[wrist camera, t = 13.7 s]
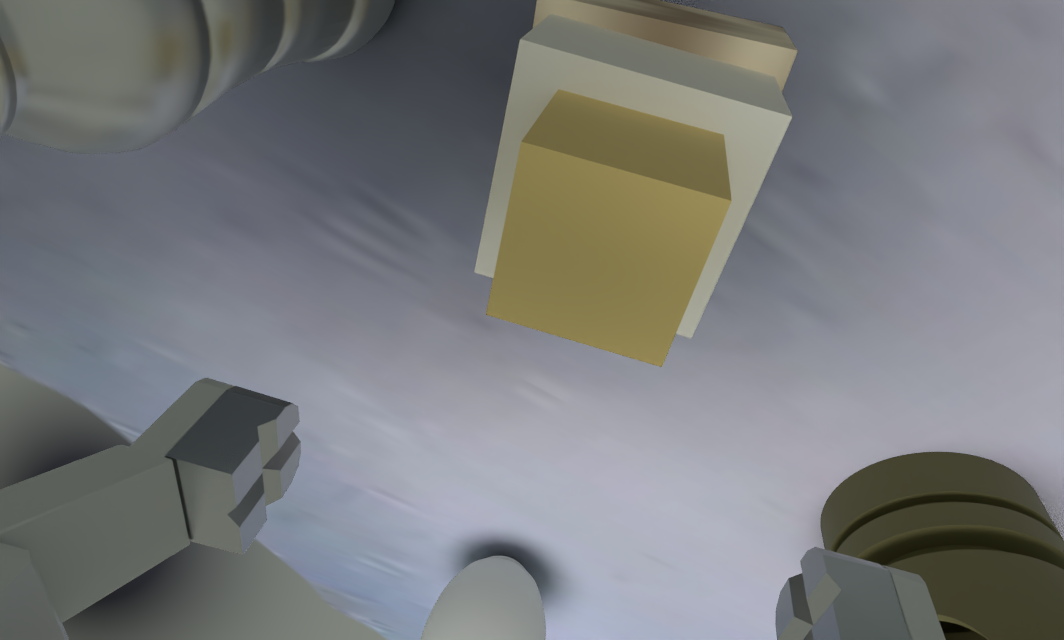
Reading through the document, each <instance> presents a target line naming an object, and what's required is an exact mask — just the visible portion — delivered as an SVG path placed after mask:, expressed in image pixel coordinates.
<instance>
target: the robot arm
mask: <svg viewBox="0 0 1064 640" xmlns="http://www.w3.org/2000/svg"><path fill="white" fill-rule="evenodd" d="M299 422H300V420H299V409H298V406H297V405H295V404H293V403H290V402H287V401H284V400H280V399H277V398H274V397H270V396H267V395H264V394H261V393H257V392H254V391H251V390H247V389H244V388H241V387H238V386H233V385H230V384H226V383H223V382H219V381H216V380H213V379H209V378H204V379H201V380H199V381H197V382H195V383H194V384H193V385H192V386H191V387H190V388H189V389H188V390H187V391H186V392H185V393H184V394H183V395H182V396H181V397H180V398H179V399H178V400H177V401H175V402H174V403H173V404H172V405H171V406H170V407H169V408H168V409H167V410H166V411H165V412H164V413H163V414H162V415H161V416H160V417H159V418H158V419H157V420H156V421H155V422H154V423H153V424H152V425H151V426H150V427H149V428H148V429H147V430H146V431H145V432H144V433H143V434H142V435H141V436H140V437H139V438H138V439H137V440H136V441H135V442H134V443H133V444H132V445H131V446H130V447H127V446H123V445H118V446H115V447H112V448H110V449H107V450H104V451H102V452H99V453H96V454H94V455H91V456H89V457H86V458H83V459H81V460H78V461H75V462H73V463H70V464H67V465H65V466H62V467H59V468H57V469H54V470H52V471H49V472H46V473H43V474H41V475H38V476H36V477H33V478H30V479H28V480H25V481H22V482H20V483H17V484H14V485H12V486H9V487H6V488H4V489H1V490H0V640H69V638H68V636H67V634H66V632H65V629H64V627H63V625H62V622H64V621H66V620H67V619H69V618H71V617H72V616H74V615H76V614H77V613H78V612H81V611H82V610H84V609H85V608H87V607H89V606H90V605H92V604H93V603H95V602H97V601H98V600H100V599H102V598H103V597H105V596H107V595H108V594H110V593H111V592H113V591H115V590H116V589H118V588H120V587H121V586H123V585H125V584H126V583H128V582H129V581H131V580H133V579H134V578H135V577H137V576H139V575H141V574H142V573H144V572H146V571H147V570H149V569H151V568H152V567H154V566H155V565H157V564H159V563H160V562H162V561H163V560H165V559H167V558H169V557H170V556H172V555H173V554H175V553H177V552H178V551H180V550H182V549H183V548H185V547H186V546H188V545H189V544H190V541H192V542H196V543H199V544H203V545H207V546H211V547H215V548H218V549H222V550H226V551H230V552H234V553H237V554H241V555H244V553H245V552H246V550H247V549H248V547H249V546H250V544H251V543H252V541H253V540H254V538H255V537H256V535H257V534H258V533H259V531H260V530H261V528H262V527H263V525H264V524H265V522H266V521H267V515H266V506H267V505H269V504H271V503H273V502H275V501H277V500H279V499H281V498H282V497H283V496H284V494H285V492H286V491H287V489H288V488H289V486H290V485H291V483H292V481H293V478H294V476H295V473H296V471H297V468H298V466H299V460H300V455H301V441H300V440H299V439H298V437H297V436H296V435H295V433H294V432H293V430H294V429H295V427H296V426H297V424H298V423H299ZM801 567H802V574H799V575H796V576H794V577H791V578H788V580H787V582H786V583H785V585H784V587H783V588H782V590H781V592H780V595H779V599H778V603H777V607H776V623H775V624H776V634H777V640H946V639H945V636H944V634H943V631H942V628H941V625H940V622H939V619H938V617H937V614H936V611H935V608H934V605H933V603H932V600H931V597H930V594H929V591H928V588H927V586H926V583H925V582H924V580H923V579H922V578H921V577H920V576H919V575H917V574H914V573H910V572H906V571H903V570H899V569H895V568H892V567H888V566H884V565H880V564H878V563H874V562H870V561H867V560H863V559H859V558H855V557H852V556H848V555H844V554H840V553H836V552H833V551H829V550H825V549H821V548H817V547H814V548H812V549H810V550H808V551H807V552H806V554H805V555H804V557H803V558H802V559H801Z"/></svg>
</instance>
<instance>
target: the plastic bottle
mask: <svg viewBox="0 0 1064 640" xmlns="http://www.w3.org/2000/svg"><path fill="white" fill-rule="evenodd" d="M394 2H395V0H0V138H1V137H2V136H3V135H4V134H7V135H10V136H12V137H15V138H17V139H20V140H24V141H28V142H31V143H35V144H39V145H43V146H47V147H50V148H54V149H58V150H62V151H65V152H69V153H76V154H107V153H121V152H127V151H133V150H138V149H141V148H143V147H146V146H148V145H150V144H152V143H154V142H156V141H158V140H159V139H161V138H163V137H164V136H166V135H168V134H170V133H171V132H173V131H175V130H177V129H178V128H179V127H180V126H181V125H183V124H184V123H186V122H187V121H188V120H190V119H191V118H192V117H194V116H195V115H196V114H198V113H199V112H200V111H202V110H203V109H204V108H206V107H207V106H208V105H210V104H211V103H212V102H214V101H215V100H216V99H218V98H219V97H220V96H222V95H223V94H224V93H226V92H227V91H228V90H230V89H232V88H234V87H236V86H238V85H240V84H242V83H244V82H245V81H247V80H249V79H251V78H253V77H255V76H257V75H259V74H261V73H263V72H265V71H266V70H269V69H273V68H277V67H281V66H285V65H289V64H293V63H297V62H319V61H325V60H331V59H336V58H340V57H345V56H347V55H349V54H351V53H354V52H356V51H358V50H359V49H360V48H361V47H363V46H364V45H365V44H366V43H368V42H369V41H370V40H371V39H372V38H373V37H374V35H375V34H376V33H377V32H378V31H379V30H380V29H381V27H382V26H383V25H384V24H385V22H386V21H387V19H388V17H389V15H390V13H391V11H392V9H393V6H394Z"/></svg>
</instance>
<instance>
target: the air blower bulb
mask: <svg viewBox="0 0 1064 640" xmlns="http://www.w3.org/2000/svg"><path fill="white" fill-rule="evenodd" d="M545 638H546V625H545V615H544V608H543V603H542V599H541V595H540V592H539V589H538V587H537V584H536V582H535V580H534V579H533V578H532V576H531V575H530V574H529V573H528V572H527V571H526V570H525V568H524V567H523V566H522V565H521V564H520V563H519V562H518V561H516V560H514V559H512V558H510V557H507V556H491V557H487V558H485V559H480V560H477V561H474V562H472V563H471V564H469V565H468V566H466V567H465V568H464V569H463V570H462V571H461V572H459V573H458V574H457V575H456V576H455V577H454V578H453V579H452V580H451V581H450V582H449V584H448V585H447V586H446V587H445V589H444V590H443V592H442V593H441V595H440V596H439V598H438V600H437V602H436V603H435V605H434V607H433V609H432V611H431V613H430V615H429V618H428V620H427V623H426V625H425V628H424V631H423V633H422V637H421V640H545Z"/></svg>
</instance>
